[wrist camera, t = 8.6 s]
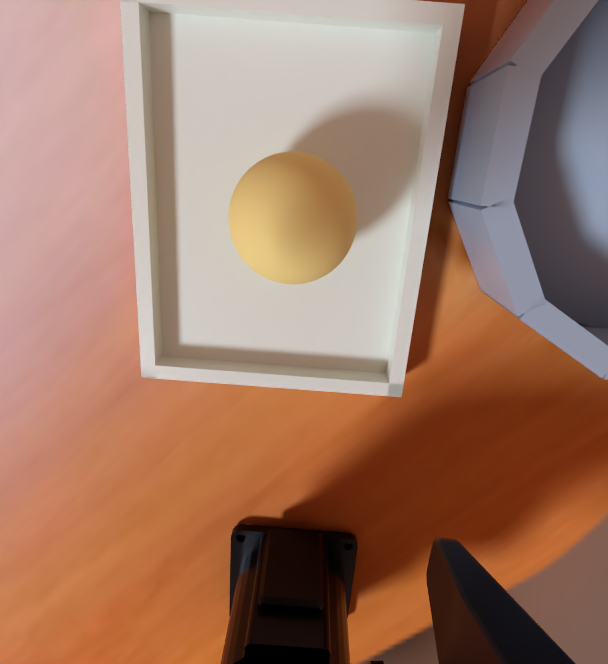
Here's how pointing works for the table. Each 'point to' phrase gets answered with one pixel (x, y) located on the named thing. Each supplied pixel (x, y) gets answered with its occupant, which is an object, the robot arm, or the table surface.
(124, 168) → the table surface
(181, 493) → the table surface
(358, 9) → the tray
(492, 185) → the bowl
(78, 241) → the table surface
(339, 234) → the ball
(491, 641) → the robot arm
